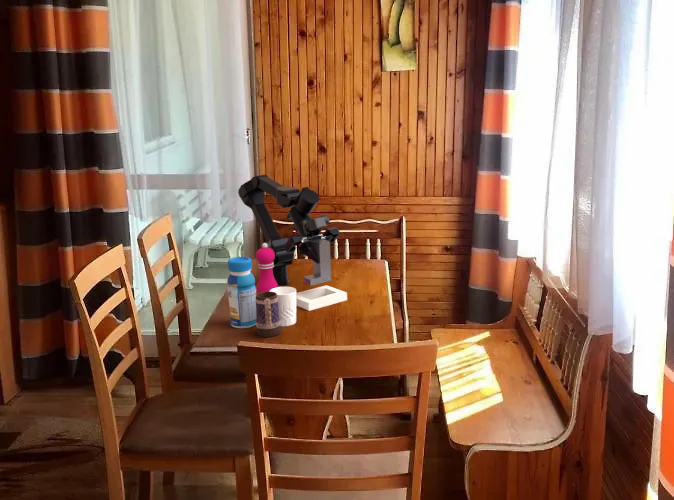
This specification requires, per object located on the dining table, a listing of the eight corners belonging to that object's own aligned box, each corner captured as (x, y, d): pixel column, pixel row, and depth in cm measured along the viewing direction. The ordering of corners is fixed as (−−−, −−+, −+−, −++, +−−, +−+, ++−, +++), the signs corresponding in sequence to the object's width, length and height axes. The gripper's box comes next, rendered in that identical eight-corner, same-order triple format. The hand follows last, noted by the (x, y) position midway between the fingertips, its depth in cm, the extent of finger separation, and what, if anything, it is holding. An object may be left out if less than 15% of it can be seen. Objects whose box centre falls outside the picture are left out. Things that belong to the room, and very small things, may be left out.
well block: (289, 302, 240) (288, 295, 239) (326, 292, 248) (326, 285, 248) (309, 310, 231) (308, 303, 230) (347, 300, 240) (346, 292, 239)
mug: (256, 329, 217) (253, 290, 214) (281, 327, 218) (278, 288, 215) (256, 342, 207) (253, 301, 204) (281, 340, 208) (279, 299, 205)
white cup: (277, 329, 217) (275, 296, 214) (267, 321, 223) (265, 289, 221) (302, 324, 220) (300, 291, 218) (291, 316, 227) (289, 285, 224)
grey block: (303, 282, 237) (301, 243, 234) (323, 277, 242) (322, 238, 238) (310, 285, 234) (309, 245, 231) (331, 280, 239) (329, 241, 235)
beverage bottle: (254, 329, 217) (249, 263, 212) (226, 328, 219) (220, 263, 214) (261, 319, 225) (257, 255, 220) (235, 318, 227) (230, 255, 222)
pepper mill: (281, 299, 243) (277, 240, 238) (277, 307, 236) (273, 245, 231) (259, 299, 244) (255, 240, 238) (255, 307, 237) (250, 246, 231)
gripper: (287, 211, 231) (309, 253, 225) (335, 202, 241) (358, 242, 236) (275, 232, 239) (296, 272, 233) (322, 222, 250) (343, 261, 244)
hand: (324, 261), depth 236 cm, fingers closed on grey block, 4 cm apart
